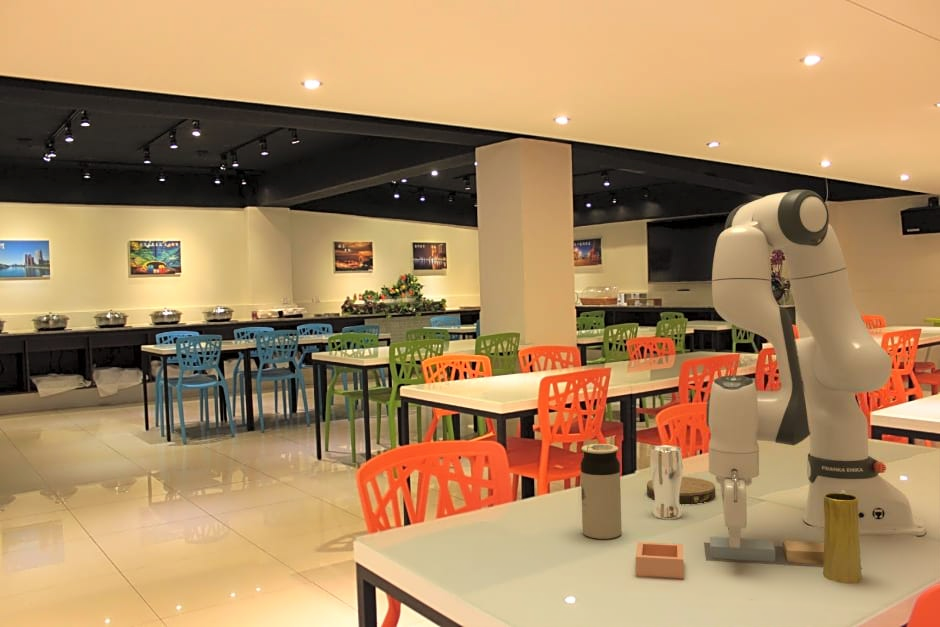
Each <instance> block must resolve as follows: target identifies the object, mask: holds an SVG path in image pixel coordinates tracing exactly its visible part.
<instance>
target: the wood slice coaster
mask: <svg viewBox="0 0 940 627" xmlns="http://www.w3.org/2000/svg"><path fill="white" fill-rule="evenodd" d="M646 495H647V497H648V498H649V499H650V500H652V499H653V500H652V501H655V495H654V489H653V484H652V479H650V480H648V481H647V482H646ZM714 498H716V485H715V484H714V483H713V482H712V481H709V480H707V479H703V478H697V477H691V476H682V483H681V489H680V499H679V501H680V504H681V505H680V506H683V505H682V504H695V505H698V504H697V503H703V504H705V503H704V502H708V503H710V502H709V501H711V500H713V499H714ZM714 500H715V499H714ZM714 500H713V501H714ZM711 502H712V501H711Z"/></svg>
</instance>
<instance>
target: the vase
mask: <svg viewBox="0 0 940 627" xmlns="http://www.w3.org/2000/svg"><path fill="white" fill-rule="evenodd" d="M823 539H824V540H823V542H824V558H823V567H822V569H823V570H822V575H823V578H826V579H827V580H830V581H833V582H836V583H841V584H854V583H855V584H858V583H860V582H861V581H863V577H862V576H863V575H862V569H861V568H862V561H861V560H862V559H861V545H860V544H861V543H860V542H861V541H860V534H859V523H858V498H857V496H855V495H852V494H847V493H827V494H824V528H823Z"/></svg>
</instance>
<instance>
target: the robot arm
mask: <svg viewBox="0 0 940 627" xmlns="http://www.w3.org/2000/svg"><path fill="white" fill-rule="evenodd" d="M715 244H716V245H715V250H714V256H713V261H712V262H713V263H712V272H711V274H712V275H711V276H712V277H711V294H712V303H713V307H714V310H715V311H716V313H717V314H718V315H719V316H720V317H721V318H722V319H723V320H724V321H726V322H728V323H729V324H731V325H733V326H736V327H738V328H739V329H740V328H741V329H742V330H746V331H749V332H751V333H754V334H756V335H759V336H760V337H763V338H764V339H766V340H767V341H768V342H769V343H770V344H771V346H772V347H773V349H774V353H775V358H776V363H777V369H778V374H779V379H780V384H781V387H780V389H779V390H775V391H773V390H757V387H756V383H755V380H753V379H752V378H750V377H747V376H744V375H738V374H730V375H729V374H728V375H724V376H718V377H717V378H715V379H714V380H713V381H712V384H711V389H710V395H709V400H707V401H706V402H707V403H706V426H707V428H708V429H709V430H710V439H709V442H708V472H709V474H711V475H713V476H715V482H716V483H717V484H720V490H721V492H720V493H721V498H722V507H723V508H722V509H723V521H724V522H723V523H724V526H725V527H726V528H727V531H728V538H729V545H730V547H734V548H739V547H740V538H741V533H742V529H746V527H747V521H748V520H747V519H748V518H747V514H748V513H747V512H748V511H747V488H746V487H748V486H750V485H752V483H753V482H752V481H753V480H752V479H753V478H756V477H759V474H760V448H759V447H760V446H759V444H758V441H759V442H761V441H762V442H771V443H772V442H773V443H777V444H782V445H787V446H795V445H798V444H800V443H801V442H803V441H804V440H806V439H807V438H808V437H809V452H808V454H807V460H806V461H807V462H806V466H807V468H806V472H807V478H808V481H809V482H808V491H807V492H808V493H807V500H806V505H805V509H804V513H803V516H802V520H803V521H804V523H806V524H808V525H810V526H811V527H819V528H823V529H824V494H827V493H847V494H852V495H855V496H857V498H858V523H859V535H911V534H912V535H913V534H914V535H915V536H919V537H920V536H924V535H925V534H926V533H927V529H926V525H925V523H924V522H923V521H922V520H921V519H920V518H918V517H916V515H913V510H912V506H911V503H910V500H909V499H908V497H907V496H906V494H904V493H903V492H902V491H900V490H899V489H898V488H897V487H895V486H894V485H893V484H892V483H890V481H887V479H884V478H883V477H882V476H881V475H879V474H883V473H886V471H887V466H886V465H885V463H883V462H882V461H879V460H877V459H875V458H873V457H871V456H870V455H869V422H868V419H867V415H865V414H864V411H862V409H861V408H860V406H859V403H858V401H857V399H856V396H855V394H863V393H871V392H876V391H879V390H880V389H882V388H883V387H884V386H885V385H886V384H887V383H888V382H889V380H890V379H891V375H892V371H893V370H892V369H893V365H892V364H893V363H892V358H891V357H890V355H889V354H888V352H887V351H886V350H885V349H884V348H883V347H882V346H881V345H880V344H879V343H878V342H877V341H876V340H875V339H874V337H873V336H872V334H871V332H870V331H869V329H868V327H867V325H866V323H865V322H864V320H863V318H862V316H861V314H860V312H859V310H858V307H857V305H856V302H855V299H854V295H853V291H852V290H853V289H852V285H851V283H850V281H851V280H850V278H849V274H848V268H847V266H846V261H845V260H846V259H845V257H844V256H845V255H844V254H843V250H842V247H841V244H840V241H839V239H838V236H837V234H836V232H835V230H834V228H833V227H832V225H831V224H830V214H829V209H828V206H827V204H826V202H825V201H824V199H823V198H822V197H821V195H819V194H818V193H817V192H815V191H813V190H811V189H810V190H808V189H793V190H790V191H788V192H787V191H786V192H778V193H773V194H769V195H765V196H764V197H761V198H759V199H756V200H753V201H751V202H749V201H748V202H745V203H742V204H740V205H739V206H737V207H735V208H734V209H733V210H731V212H730V213H729V214H728V216H727V218H726V220H725V225H724V230H723V231H722V232H721V233H720V234H719V236H718V237H717V240H716V243H715ZM779 250H780V251H781V252H782V253H783V255H784V256H785V263H786V269H787V270H786V271H787V276H788V279H789V280H788V281H789V285H790V290H791V294H792V299H793V304H794V307H795V312H796V314H797V316H798V318H799V319H800V320H801V321H802V322H803V323H804V324H805V326H806V327H807V328H808V330H809V332H810V334H811V336H808V337H805V338H803V339H800V340H798V341H797V342H796V337H795V331H794V326H793V323H792V318H791V316H790V313H789V312H788V310H787V309H786V308H785V307H783V306H781V305H779V304H778V302H777V300H776V298H775V296H774V292H773V289H772V288H773V287H772V268H771V267H772V266H771V257H772V254H773V252H774V251H779Z"/></svg>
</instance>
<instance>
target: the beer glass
mask: <svg viewBox="0 0 940 627" xmlns="http://www.w3.org/2000/svg"><path fill="white" fill-rule="evenodd" d="M649 468H650V470H649V471H650V472H649V473H650V478H651V479H650V480H652V484H653V489H654V495H655V500H654V507H653V513H652V514H653V516H654V517H655V518H657V519H660V520H661V519H662V520H677V519H680V518H682V515H683V513H682V510H681V505H680V501H679V499H680V489H681V483H682V477H683V475H684V474H683V472H684V471H683V470H684V469H683V468H684V466H683V454H682V447H681V446H676V445H670V444H669V445H665V444H661V445H653V446H651V447H650V456H649Z"/></svg>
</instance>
